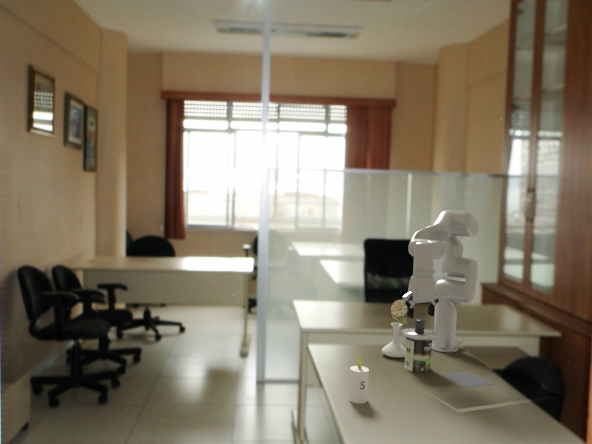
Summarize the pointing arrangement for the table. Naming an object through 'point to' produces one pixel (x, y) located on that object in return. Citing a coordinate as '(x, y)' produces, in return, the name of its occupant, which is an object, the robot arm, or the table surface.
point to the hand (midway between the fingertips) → (420, 316)
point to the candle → (358, 383)
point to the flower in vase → (396, 331)
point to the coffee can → (418, 355)
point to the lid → (419, 332)
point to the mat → (465, 379)
